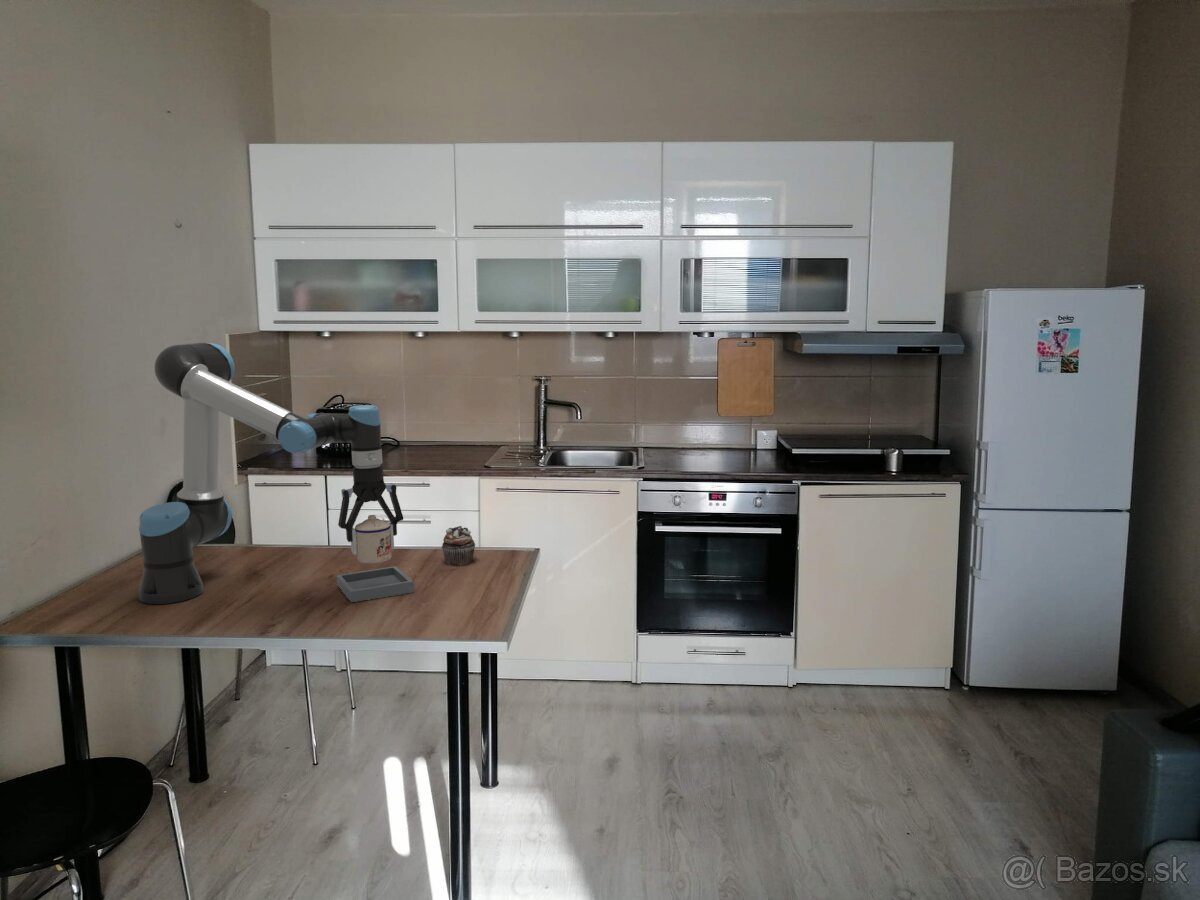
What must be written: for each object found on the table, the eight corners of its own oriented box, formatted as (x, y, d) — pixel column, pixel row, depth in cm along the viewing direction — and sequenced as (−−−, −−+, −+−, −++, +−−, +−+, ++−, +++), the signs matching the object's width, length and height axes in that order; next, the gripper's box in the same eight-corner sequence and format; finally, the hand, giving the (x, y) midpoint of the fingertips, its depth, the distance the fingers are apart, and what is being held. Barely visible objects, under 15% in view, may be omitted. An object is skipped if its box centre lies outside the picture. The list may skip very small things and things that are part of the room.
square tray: (351, 603, 226) (350, 591, 225) (337, 586, 240) (336, 575, 239) (413, 592, 233) (413, 581, 233) (396, 576, 247) (395, 566, 247)
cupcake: (435, 562, 260) (433, 528, 259) (461, 555, 268) (459, 522, 266) (456, 568, 254) (455, 533, 253) (482, 560, 261) (481, 527, 260)
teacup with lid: (382, 565, 229) (380, 520, 227) (350, 563, 231) (347, 519, 229) (403, 551, 240) (400, 509, 238) (371, 550, 242) (369, 508, 240)
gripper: (327, 472, 223) (333, 560, 226) (413, 463, 233) (417, 547, 237) (321, 467, 229) (327, 553, 233) (404, 459, 239) (409, 541, 243)
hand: (373, 550), depth 235 cm, fingers closed on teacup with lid, 9 cm apart
